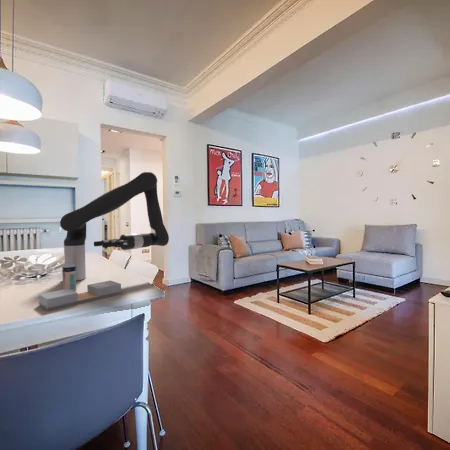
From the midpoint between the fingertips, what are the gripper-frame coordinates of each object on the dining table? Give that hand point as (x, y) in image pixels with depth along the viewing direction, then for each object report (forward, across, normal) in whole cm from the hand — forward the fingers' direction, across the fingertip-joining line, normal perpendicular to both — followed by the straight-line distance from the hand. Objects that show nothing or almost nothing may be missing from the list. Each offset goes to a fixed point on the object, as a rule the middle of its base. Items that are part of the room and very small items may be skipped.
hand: (98, 244), depth 119 cm
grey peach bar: (+12, +13, +19) cm, 26 cm away
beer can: (+12, 0, +19) cm, 23 cm away
